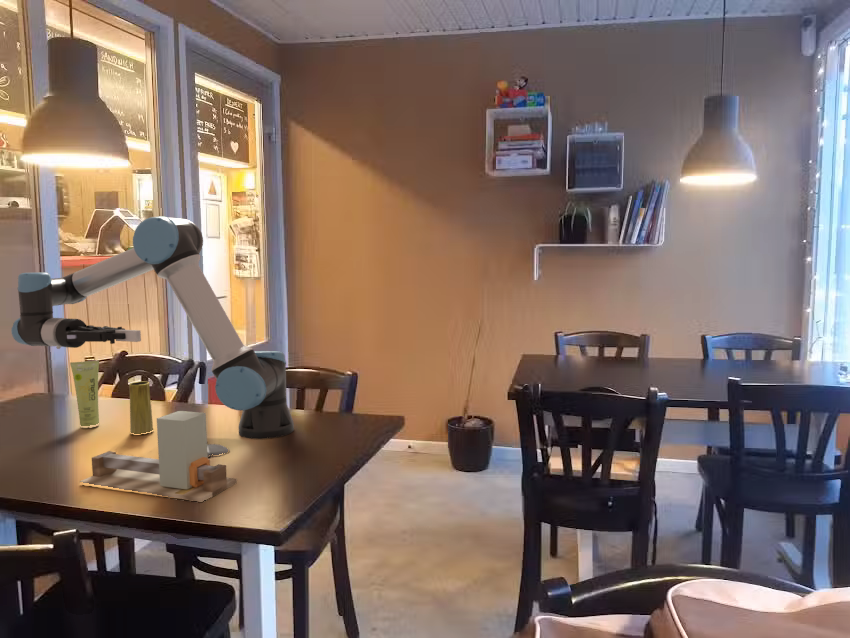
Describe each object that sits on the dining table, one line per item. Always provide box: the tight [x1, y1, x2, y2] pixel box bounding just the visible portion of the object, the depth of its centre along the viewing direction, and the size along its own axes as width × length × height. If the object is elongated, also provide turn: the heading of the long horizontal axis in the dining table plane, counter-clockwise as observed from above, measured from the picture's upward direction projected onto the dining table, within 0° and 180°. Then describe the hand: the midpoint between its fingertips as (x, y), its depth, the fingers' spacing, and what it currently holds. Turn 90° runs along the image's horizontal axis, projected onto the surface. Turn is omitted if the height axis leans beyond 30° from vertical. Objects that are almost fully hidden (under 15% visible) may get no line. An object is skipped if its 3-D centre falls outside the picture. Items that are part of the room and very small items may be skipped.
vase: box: [128, 380, 154, 434], centre depth 184 cm, size 6×6×14 cm
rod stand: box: [79, 450, 238, 502], centre depth 144 cm, size 32×12×5 cm, turn 71°
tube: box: [69, 359, 100, 426], centre depth 190 cm, size 6×5×20 cm
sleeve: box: [156, 410, 211, 489], centre depth 141 cm, size 8×7×15 cm
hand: (138, 336), depth 163 cm, fingers closed
